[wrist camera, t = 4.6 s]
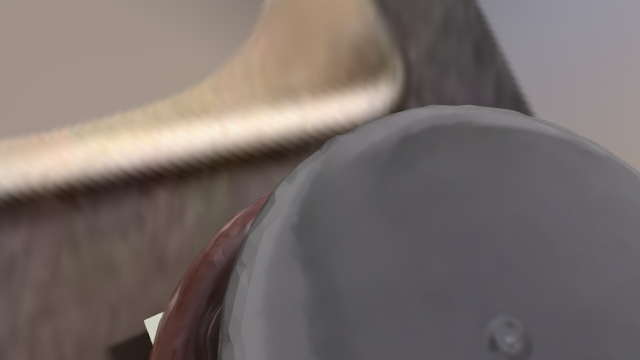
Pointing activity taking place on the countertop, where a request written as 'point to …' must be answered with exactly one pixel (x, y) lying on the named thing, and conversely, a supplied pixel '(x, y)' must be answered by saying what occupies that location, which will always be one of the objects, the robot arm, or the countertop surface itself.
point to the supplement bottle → (425, 250)
